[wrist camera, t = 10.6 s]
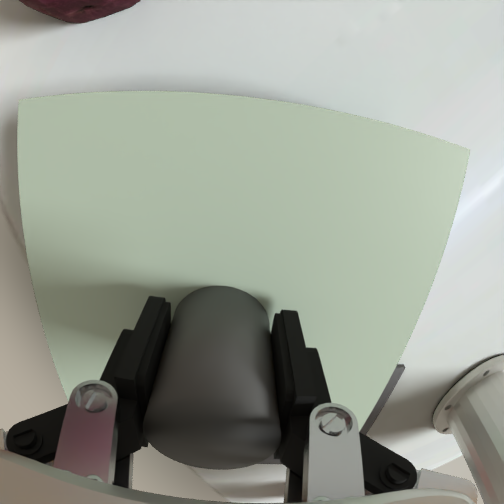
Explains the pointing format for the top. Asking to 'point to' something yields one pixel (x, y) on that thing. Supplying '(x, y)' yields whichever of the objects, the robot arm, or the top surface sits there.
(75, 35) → the top surface
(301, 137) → the block with center peg
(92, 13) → the vegetable
